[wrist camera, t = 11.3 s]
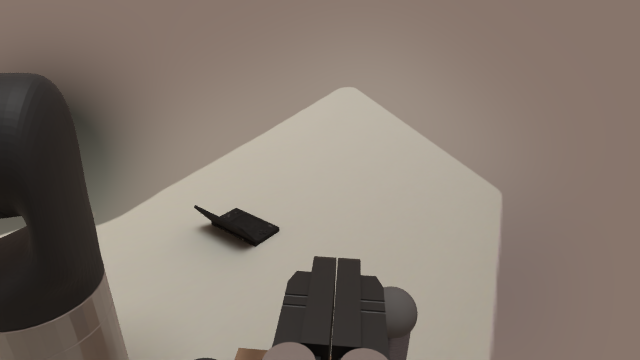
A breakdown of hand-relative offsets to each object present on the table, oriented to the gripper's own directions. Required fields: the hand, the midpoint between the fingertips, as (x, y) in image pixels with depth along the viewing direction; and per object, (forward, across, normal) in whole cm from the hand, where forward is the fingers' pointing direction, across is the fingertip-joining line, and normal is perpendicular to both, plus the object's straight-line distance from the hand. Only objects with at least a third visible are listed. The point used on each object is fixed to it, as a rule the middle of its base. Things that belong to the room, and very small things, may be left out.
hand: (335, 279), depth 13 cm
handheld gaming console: (+47, +18, +30) cm, 59 cm away
